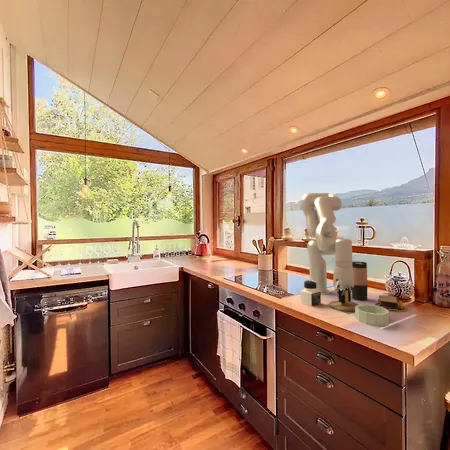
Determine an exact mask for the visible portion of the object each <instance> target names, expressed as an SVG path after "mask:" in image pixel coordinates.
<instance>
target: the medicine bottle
mask: <svg viewBox="0 0 450 450" xmlns="http://www.w3.org/2000/svg"><path fill="white" fill-rule="evenodd" d="M303 285H304V286H303V289H301V290H300V303H301V304H304V305H306V306H309V307H315V306H318V305H321V303H322V299H321V298H322V297H321V296H322V294H321V291H319V290H316V289H317V283H316V282H315V281H312V280H310V279H309V280H305V281H304V282H303Z"/></svg>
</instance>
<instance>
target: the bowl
mask: <svg viewBox="0 0 450 450" xmlns="http://www.w3.org/2000/svg"><path fill="white" fill-rule="evenodd" d="M379 306H380V305H377V306H375V305H374V304H359V305H357V306H356V307H355V313H354V315H355V318H354V319H355V320H357V321H358V322H359V323H361V324H365V325H370V326H376V327H379V326H380V327H382V328H386V327H388V326H389V325H390V315H389V314H390V311H388V310H387V309H385V308H383V307H379Z"/></svg>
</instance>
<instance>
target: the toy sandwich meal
mask: <svg viewBox="0 0 450 450" xmlns="http://www.w3.org/2000/svg"><path fill="white" fill-rule="evenodd" d="M378 297H379V298H378V299H377V302H375V303H374V304H373V305H375V306H379V307H383V308H385V309H387V310H388V311H389V312H393V313H401V312H405V311H406V307H404V306H403V305H404V304H403V301H402V300H399V301H398V298H397V297H395V296H392V295H382V294H381V295H378Z"/></svg>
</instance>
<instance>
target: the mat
mask: <svg viewBox="0 0 450 450" xmlns="http://www.w3.org/2000/svg"><path fill="white" fill-rule="evenodd" d="M323 307H325V308H329V309H332V308H331V307H330V306H329V304H323ZM332 310H335V309H332ZM335 311H338V310H335ZM338 312H339V311H338ZM340 313H344V314H347V315H351V314H355V312H344V311H340Z"/></svg>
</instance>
